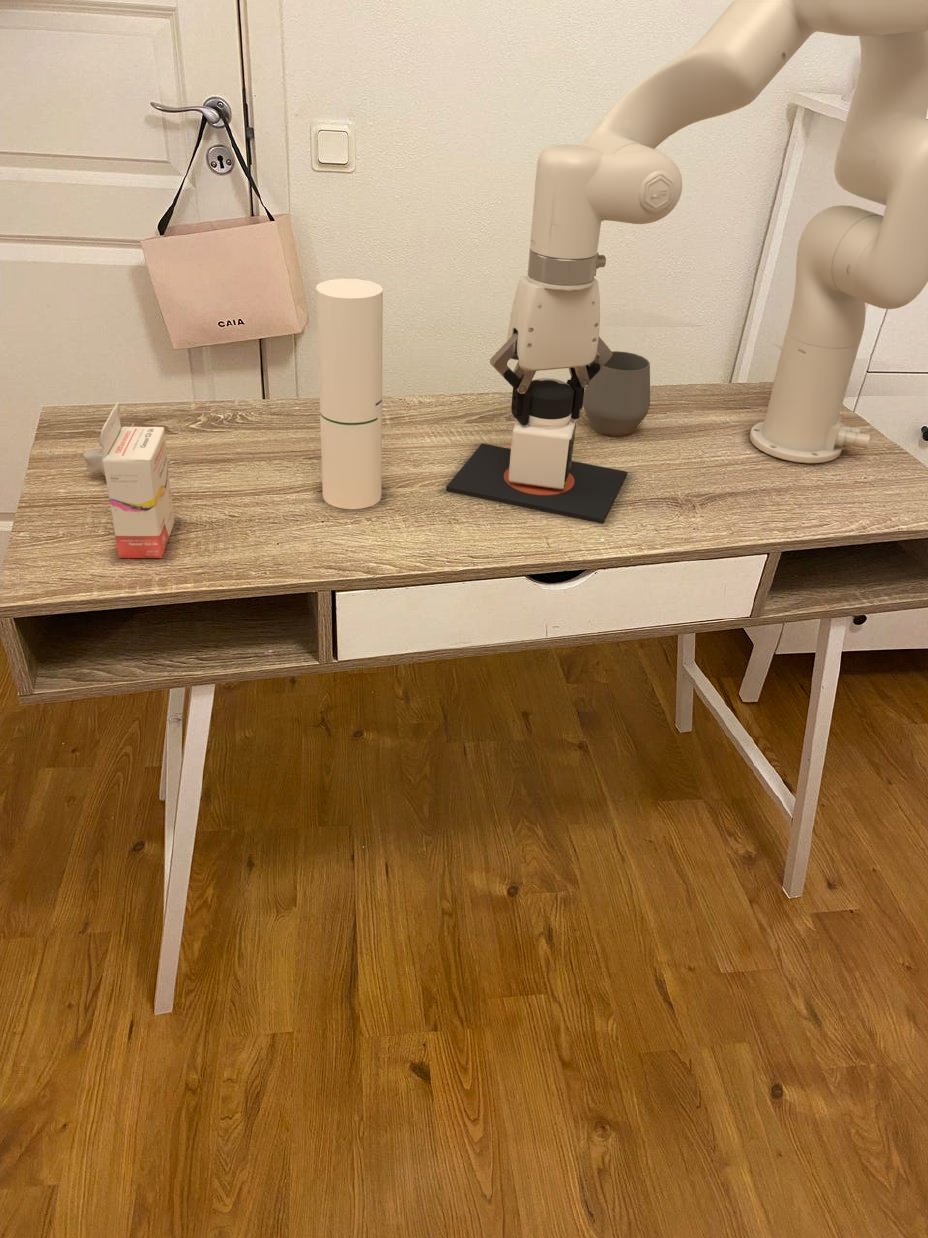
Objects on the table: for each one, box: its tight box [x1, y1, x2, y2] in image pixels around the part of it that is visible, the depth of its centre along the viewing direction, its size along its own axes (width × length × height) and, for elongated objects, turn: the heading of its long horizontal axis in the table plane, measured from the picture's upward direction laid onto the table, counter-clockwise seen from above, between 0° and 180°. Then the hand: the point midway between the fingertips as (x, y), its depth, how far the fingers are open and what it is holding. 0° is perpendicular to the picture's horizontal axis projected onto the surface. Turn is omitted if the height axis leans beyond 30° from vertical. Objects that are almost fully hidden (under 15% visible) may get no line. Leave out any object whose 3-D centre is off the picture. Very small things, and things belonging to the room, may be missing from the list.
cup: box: [582, 350, 651, 437], centre depth 139 cm, size 10×9×10 cm
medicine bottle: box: [508, 377, 578, 489], centre depth 123 cm, size 7×7×12 cm
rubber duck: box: [82, 422, 114, 477], centre depth 120 cm, size 5×7×8 cm
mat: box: [445, 443, 628, 524], centre depth 127 cm, size 20×14×1 cm
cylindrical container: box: [315, 278, 384, 510], centre depth 115 cm, size 7×7×25 cm
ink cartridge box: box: [100, 401, 175, 559], centre depth 106 cm, size 9×5×15 cm, turn 5°
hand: (546, 416), depth 122 cm, fingers closed on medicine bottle, 6 cm apart
